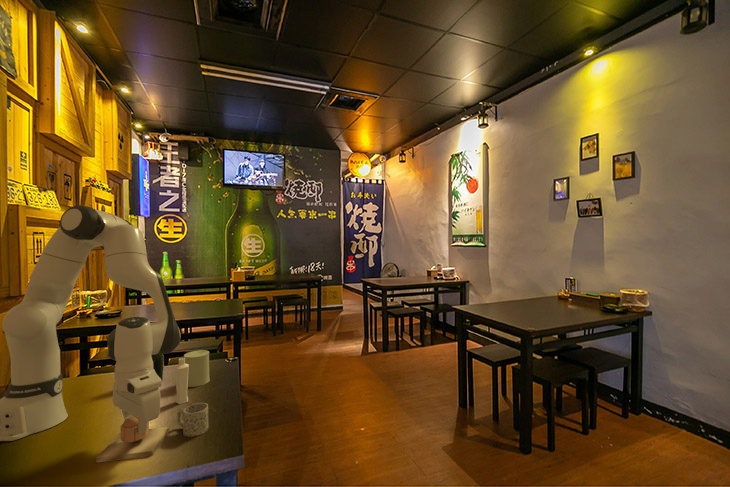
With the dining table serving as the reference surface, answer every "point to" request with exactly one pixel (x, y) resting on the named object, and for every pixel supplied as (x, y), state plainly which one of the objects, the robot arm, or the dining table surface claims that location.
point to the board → (133, 446)
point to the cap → (131, 430)
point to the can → (197, 367)
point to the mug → (194, 419)
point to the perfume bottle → (181, 381)
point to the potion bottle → (158, 364)
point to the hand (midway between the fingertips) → (135, 428)
